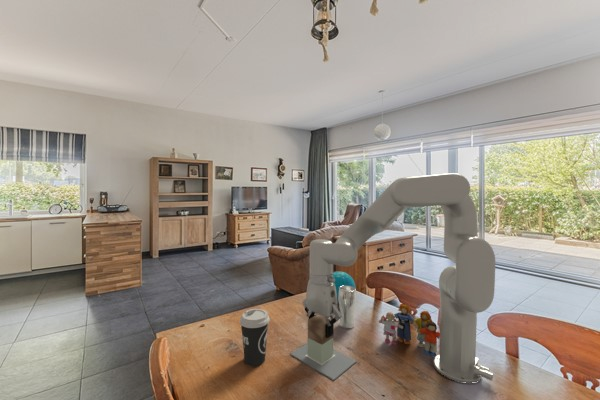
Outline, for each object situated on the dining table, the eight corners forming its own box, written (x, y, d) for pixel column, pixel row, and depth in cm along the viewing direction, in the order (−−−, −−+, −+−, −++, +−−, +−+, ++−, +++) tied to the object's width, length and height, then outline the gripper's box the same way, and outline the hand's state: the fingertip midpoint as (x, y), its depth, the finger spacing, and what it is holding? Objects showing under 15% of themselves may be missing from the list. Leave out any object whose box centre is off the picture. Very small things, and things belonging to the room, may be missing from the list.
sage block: (333, 355, 90) (333, 337, 90) (321, 363, 86) (321, 344, 86) (319, 347, 94) (319, 330, 94) (307, 355, 90) (307, 337, 90)
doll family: (377, 341, 100) (378, 305, 99) (383, 329, 108) (384, 296, 108) (443, 359, 89) (444, 319, 89) (444, 345, 97) (445, 308, 97)
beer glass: (356, 329, 108) (357, 291, 108) (339, 329, 108) (339, 291, 108) (353, 320, 115) (354, 285, 114) (337, 320, 115) (337, 285, 115)
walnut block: (333, 337, 90) (333, 319, 90) (321, 344, 86) (322, 325, 86) (319, 330, 94) (319, 313, 94) (307, 337, 90) (307, 319, 90)
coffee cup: (256, 347, 95) (256, 305, 94) (275, 358, 89) (276, 313, 88) (233, 361, 88) (233, 315, 87) (253, 374, 82) (253, 324, 81)
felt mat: (356, 362, 88) (356, 360, 88) (333, 380, 79) (333, 379, 79) (313, 340, 100) (313, 338, 100) (290, 354, 91) (290, 353, 91)
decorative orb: (342, 294, 144) (342, 266, 143) (361, 305, 131) (362, 274, 130) (318, 300, 136) (318, 270, 136) (336, 312, 123) (337, 279, 123)
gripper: (350, 281, 86) (349, 337, 87) (308, 270, 98) (308, 319, 99) (335, 287, 80) (335, 347, 81) (294, 274, 92) (293, 327, 93)
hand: (320, 331), depth 90 cm, fingers open, 6 cm apart
